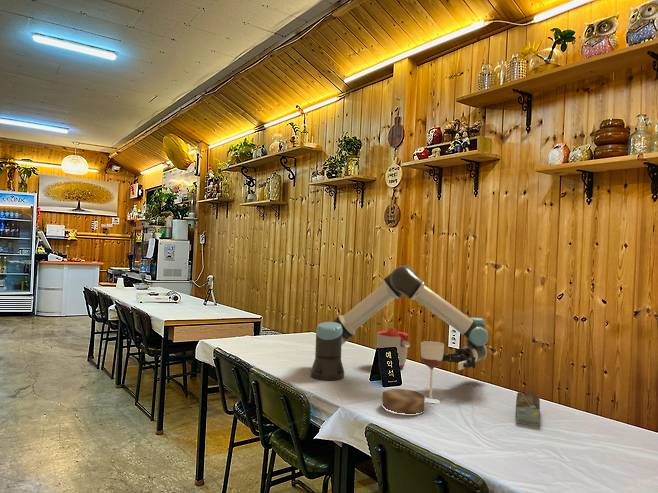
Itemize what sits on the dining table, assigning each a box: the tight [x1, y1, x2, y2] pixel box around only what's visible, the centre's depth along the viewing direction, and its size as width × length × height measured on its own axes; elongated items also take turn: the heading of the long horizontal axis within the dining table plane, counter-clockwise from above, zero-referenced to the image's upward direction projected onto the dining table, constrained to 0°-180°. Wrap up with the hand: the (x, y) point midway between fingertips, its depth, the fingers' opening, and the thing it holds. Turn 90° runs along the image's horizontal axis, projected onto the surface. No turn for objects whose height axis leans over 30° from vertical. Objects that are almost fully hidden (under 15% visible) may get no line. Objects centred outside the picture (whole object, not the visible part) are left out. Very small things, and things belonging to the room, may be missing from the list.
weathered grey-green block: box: [515, 391, 541, 427], centre depth 174 cm, size 8×19×7 cm, turn 157°
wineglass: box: [420, 340, 445, 399], centre depth 188 cm, size 9×10×22 cm
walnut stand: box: [381, 388, 426, 414], centre depth 176 cm, size 15×15×5 cm
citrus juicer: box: [376, 326, 411, 370], centre depth 239 cm, size 16×17×20 cm
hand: (442, 363), depth 195 cm, fingers open, 13 cm apart
